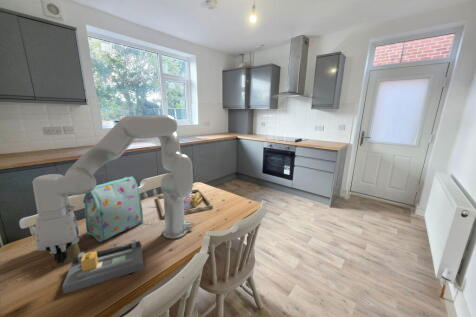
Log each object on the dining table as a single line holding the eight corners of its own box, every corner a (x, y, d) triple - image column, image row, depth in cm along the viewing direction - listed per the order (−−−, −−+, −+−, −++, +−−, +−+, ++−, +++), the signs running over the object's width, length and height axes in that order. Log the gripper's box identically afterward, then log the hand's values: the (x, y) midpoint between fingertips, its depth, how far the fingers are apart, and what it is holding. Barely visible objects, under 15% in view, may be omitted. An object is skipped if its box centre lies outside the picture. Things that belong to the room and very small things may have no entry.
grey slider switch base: (142, 248, 87) (141, 238, 85) (143, 268, 75) (142, 256, 74) (74, 266, 75) (72, 254, 74) (63, 294, 64) (61, 280, 63)
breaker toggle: (98, 262, 74) (96, 249, 72) (96, 269, 70) (94, 255, 69) (85, 265, 72) (83, 252, 71) (82, 273, 68) (80, 259, 67)
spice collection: (207, 197, 144) (207, 186, 142) (198, 212, 121) (198, 199, 119) (175, 195, 146) (175, 184, 145) (160, 210, 123) (159, 196, 122)
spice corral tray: (198, 192, 153) (198, 189, 152) (212, 209, 125) (212, 205, 124) (156, 199, 138) (156, 195, 137) (162, 220, 110) (162, 215, 110)
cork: (79, 251, 84) (75, 228, 82) (83, 257, 80) (79, 234, 78) (61, 258, 80) (56, 234, 77) (64, 265, 76) (59, 241, 74)
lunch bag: (129, 215, 115) (125, 172, 110) (146, 223, 107) (142, 177, 102) (84, 234, 96) (76, 183, 90) (100, 245, 88) (93, 190, 82)
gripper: (85, 203, 69) (90, 248, 73) (28, 211, 62) (37, 260, 66) (80, 212, 63) (86, 261, 66) (15, 222, 56) (26, 276, 59)
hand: (62, 260), depth 66 cm, fingers closed
